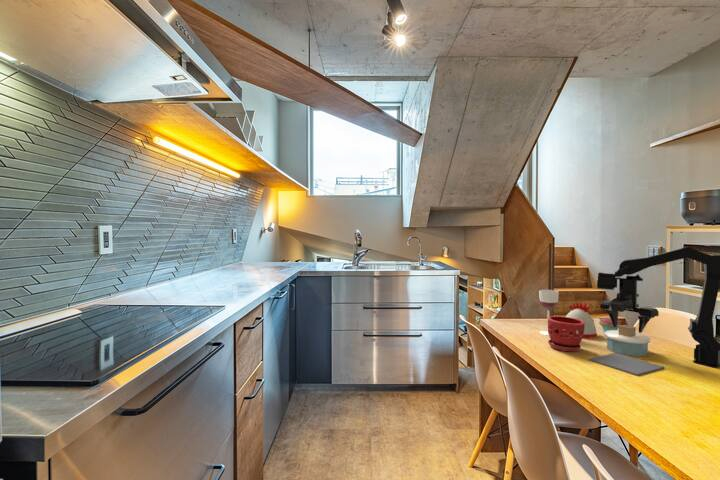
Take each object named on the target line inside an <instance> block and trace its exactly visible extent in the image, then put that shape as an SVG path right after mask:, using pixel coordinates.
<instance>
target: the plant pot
mask: <svg viewBox="0 0 720 480" xmlns="http://www.w3.org/2000/svg"><path fill="white" fill-rule="evenodd" d="M547 319H548V334H549V335H548V336H549V340H548V341H547V343H548V345H549V346H550V347H551V348H553V349H556V350H560V351H562V352H563V351H565V352H577V351H579V350H580V349H581V348H582V347H581V344H580V343H581V342H582V340H583V339H584V338H583V334H584V326H585V323H584V322H583V321H581V320H578V319H575V318H570V317H566V316H560V315H549V317H548V316H547ZM563 330H565V331H563ZM576 331H578V333H576Z"/></svg>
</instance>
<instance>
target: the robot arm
mask: <svg viewBox="0 0 720 480" xmlns="http://www.w3.org/2000/svg"><path fill="white" fill-rule="evenodd" d="M682 259H690V260H693V261H696V262H698V263H700V264H703V271H704V272H703V273H704V283H703V287H702V292H701V293H702V294H701V298H700V302H699V307H698V312H697V315H696V317H695V319H693V318H689V326H688V327H687V329H688V331H689V333H690V335H691V338H692V339H693V341H695V342H697V344H695V348H693V360H692V362H693V363H695V364H700V365H703V366H708V367H712V368H720V341H719V339H718V338H716V336H715V334H714V323H713V317H714V314H715V308H716V303H717V298H718V293H719V290H720V254H712V253H711V254H708V253H706V252H702V251H699V250H698V249H697V250H696V249H694V248H692V247H691V246H683V247H681V248H678V249H674V250H670V251H665V252H662V253H659V254H655V255H650V256H647V257H637V258H631V259H624V260H623V261H621V262H620V264H619V266H618V270H617V271H614V273H610V272H608V273H606V272H598V275H597V280H596V287H597V289H598V290H609V291H611V290H612V291H614V290H615V289H616V288H618V292H617V294H616V298H613V299H612V300H604V301H603V300H602V301H601V302H600V303H599V309H603V311H604V312H606V313H607V314H608V315H609V317H610V318H611V321H612V323H613V326H614V327H617V322H618V321H619V313H623V312H625V311H627V312H631V313H632V312H633V313H638V314H639V315H637V318H638V320H639V321H638V333H639V334H642V333H643V331H644V330H645V328H646V326H647V324H648V323H649V322H650V320H651V319H655V317H659V315H660V314H659V312H660V311H659V310H658V309H657V308H655V307H649V306H648V307H647V306H644V307H639V304H638V297H640V294H639V293H638V281H639V282H642V281H644V278H643V277H642V276H640V275H639V274H636V273H638V272H641V271H643V270H645V269H648V268H650V267H654V266H658V265H662V264H666V263H667V264H668V263H669V262H675V261H678V260H682ZM634 274H636V275H634ZM625 275H626V277H623V276H625ZM618 281H619V282H618ZM618 283H619V284H618Z"/></svg>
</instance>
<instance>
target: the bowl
mask: <svg viewBox="0 0 720 480" xmlns="http://www.w3.org/2000/svg"><path fill="white" fill-rule="evenodd" d="M606 349H607V350H609V351H611V352H613V353H618V354H621V355H624V354H625V356H631V355H632V357H644V356H648V354H649V343H646V344H635V343H627V342H621V341H616V340H613V339H610V338H608V337H606Z"/></svg>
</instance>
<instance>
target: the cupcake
mask: <svg viewBox="0 0 720 480" xmlns="http://www.w3.org/2000/svg"><path fill="white" fill-rule="evenodd" d="M598 324H599V326H601V327H602V330H603V333H605V332H606V331H609V330H619V326H621V325H622V324H621V321H620V320H618V322H617V327H614V326H613V323H612V321H611V318H610V316H609V317H603V318H600V320H599V321H598Z"/></svg>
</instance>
